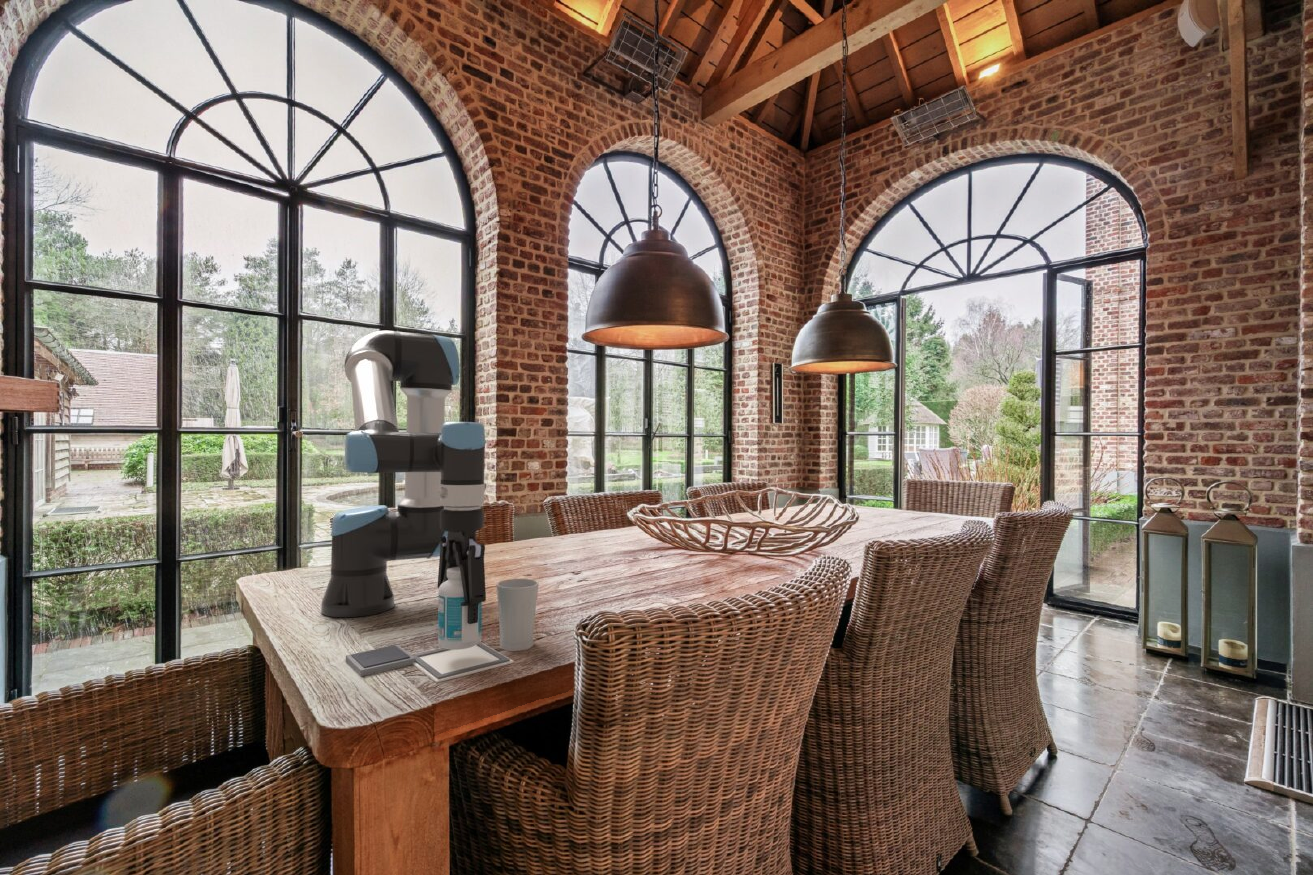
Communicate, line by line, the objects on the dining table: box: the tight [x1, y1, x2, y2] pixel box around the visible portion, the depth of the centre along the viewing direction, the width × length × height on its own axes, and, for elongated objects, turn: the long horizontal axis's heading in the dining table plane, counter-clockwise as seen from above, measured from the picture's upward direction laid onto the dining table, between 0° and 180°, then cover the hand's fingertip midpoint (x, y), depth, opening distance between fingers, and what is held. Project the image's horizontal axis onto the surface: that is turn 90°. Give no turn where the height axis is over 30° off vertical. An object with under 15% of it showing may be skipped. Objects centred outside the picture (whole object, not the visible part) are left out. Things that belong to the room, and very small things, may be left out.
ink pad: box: [345, 644, 416, 677], centre depth 107 cm, size 9×9×1 cm
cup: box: [496, 578, 539, 652], centre depth 117 cm, size 8×8×12 cm
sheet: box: [411, 641, 515, 684], centre depth 108 cm, size 14×14×1 cm
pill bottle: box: [437, 567, 483, 650], centre depth 108 cm, size 8×7×14 cm
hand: (459, 634), depth 108 cm, fingers closed on pill bottle, 7 cm apart
